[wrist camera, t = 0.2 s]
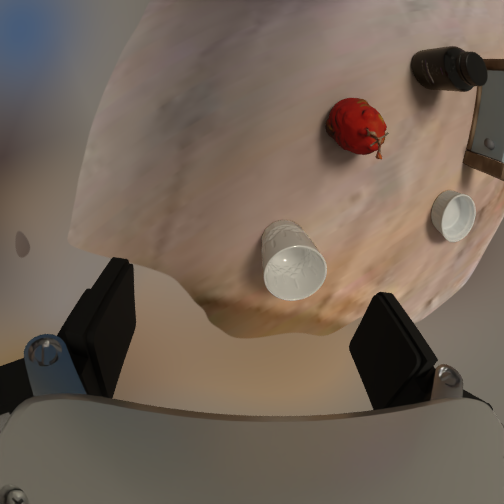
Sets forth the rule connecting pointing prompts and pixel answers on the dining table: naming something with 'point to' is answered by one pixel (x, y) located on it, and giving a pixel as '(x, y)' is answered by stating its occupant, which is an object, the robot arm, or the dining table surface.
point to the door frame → (471, 158)
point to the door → (491, 119)
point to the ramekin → (453, 215)
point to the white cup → (291, 262)
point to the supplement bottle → (449, 69)
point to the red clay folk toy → (356, 126)
